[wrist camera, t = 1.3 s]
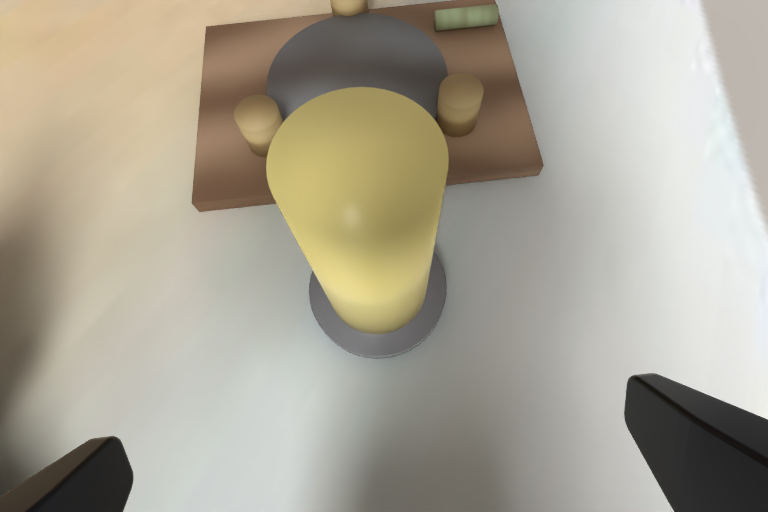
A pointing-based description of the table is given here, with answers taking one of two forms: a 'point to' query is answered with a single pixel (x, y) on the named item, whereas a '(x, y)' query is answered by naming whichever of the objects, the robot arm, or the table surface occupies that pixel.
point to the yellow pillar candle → (365, 214)
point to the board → (360, 69)
